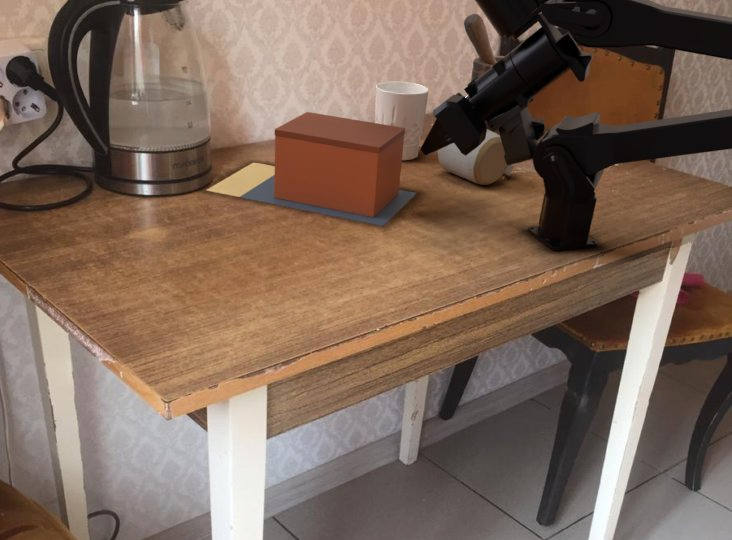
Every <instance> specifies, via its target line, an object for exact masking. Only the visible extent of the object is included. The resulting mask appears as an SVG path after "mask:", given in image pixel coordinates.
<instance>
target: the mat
mask: <svg viewBox="0 0 732 540" xmlns="http://www.w3.org/2000/svg"><path fill="white" fill-rule="evenodd" d="M274 176H275V165H270V164H264V163H259V162H252V163H250V164H249V165H247V166H245V167H243V168H241V169H240V170H238V171H236V172H234V173H233V174H231V175H230V176H228V177H226V178H224V179H223V180H221V181H219V182H218V183H216V184H214V185H212V186H210V187H209V188H207V189H205V191H207V192H211V193H215V194H221V195H226V196H231V197H237V198H241V199H246V200H250V201H256V202H259V203H266V204H271V205H276V206H280V207H281V206H282V207H286V208H290V209H296V210H301V211H306V212H310V213H316V214H321V215H325V216H331V217H335V218H341V219H346V220H351V221H355V222H360V223H366V224H370V225H376V226H380V227H384V226H385V225H386V224H387V223H389V222H390V220H392V218H393V217H395V216H396V215H397V213H398V212H399V211H401V210H402V209H403V208H404V207H406V205H407V204H408V203H409V202H410V201H411V200H412V199H413V198H414V197H415V196H416V195H417V194H418V192H415V191H410V190H409V191H408V190H403V189H399V194H398V195H397V196H396V197H395V198H394V199H393V200H392V201H391V202H390V203H389V204H388V205H386V206H385V207H384V208H383V209H382V210H381V211H380V212H379V213H378V214H377V215H376V216H375V217H369V216H364V215H359V214H354V213H349V212H344V211H339V210H334V209H329V208H324V207H318V206H313V205H308V204H303V203H298V202H293V201H288V200H283V199H278V198H274Z"/></svg>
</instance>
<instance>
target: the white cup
mask: <svg viewBox="0 0 732 540" xmlns="http://www.w3.org/2000/svg"><path fill="white" fill-rule="evenodd" d="M429 93H430V90H429V87H427V86H425V85H422V84H419V83H414V82H409V81H399V80H397V81H383V82H379V83H377V84H375V96H374V97H375V99H374V123H377V124H383V125H390V126H396V127H402V128H405V134H404V143H403V153H402V161H411V160H414V159H416V158H418V156H419V150H420V144H421V139H422V136H423V135H422V134H423V131H424V124H425V119H426V112H427V107H428V106H427V105H428V100H429Z"/></svg>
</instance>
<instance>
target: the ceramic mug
mask: <svg viewBox="0 0 732 540" xmlns="http://www.w3.org/2000/svg"><path fill="white" fill-rule="evenodd" d="M504 155H505V152H504V148H503V145H502V141H501V138H500V136H499V135H498V134H496V133H494V132H492V131H490V130H488V129H487V133H486V138H485V140H484V141H483V142H482V143H481V144H480V145H479V146H478V147H477V148H475V149H474V150H473V151H471V152H470V153H469V154H467V155H466V156H465V155H464V154H462V153H461V152H460V150H459V149H458V148H457V146H456V145H455V144H454V143H452V144H450V145H448V146H446V147H444V148H441V149H439V150H437V158H438V162H439V165H440V166H441V168H442V169H443V170H445V171H446V172H448V173H451V174H454V175H455V176H458V177H460V178H462V179H466V180H467V181H469V182H471V183H475V184H477V185H480V186H481V185H482V186H487V185H491V184H494V183H495V182H496V181H498V180H500V178H501V177H502V176H503V175H505V176H508V177H510V175H511V174H512V172H513V169H514V165H513V164H512V165H509V166H508V165H507V164H506V161H505V158H504Z"/></svg>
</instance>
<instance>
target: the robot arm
mask: <svg viewBox="0 0 732 540" xmlns="http://www.w3.org/2000/svg"><path fill="white" fill-rule="evenodd" d="M474 1H475V3H476V5H477V6H478V8H479V9H480V10H481V12H482V13H483V15H484V16H485V18H486V20H488V21H489V23H490V25H491V26H492V27H493V29H494V30H495V32H496V33H497V34H498V36H499V37H500V39H503V38H505V37H506V39H509V38H512V40H513V41H516V40H518V39H519V38H520V37H521V36H523V34H525V33H526V32H527V31H529V30H530V29H531V28H533V27H534V26H535V25H536V24H537V23H538V24H539V25H540V27H539V28H537V30H535V31H534V32H533V33H532V34H531V35H529V36H527V38H526V39H525V40H523V41H522V42H520V44H518V45H517V46H516V47H515V48H514V49H512V50H511V51H509V52H508V53H507V54H506V55H505V57H503V58H502V59H501V60H499V61H498V62H497V63H496V64H495V65H493V66H492V67H491V68H490V69H489V70H487V71H486V72H483V73H481V74H480V75H479V76H477V77H476V78H475V79H474V80H472V81H471V80H470V82H469V83H468V84H467V85H466V87H465V88H463V90H464V92H465V93H466V94H467V95H465V96H464V95H463V94H462V93H461V92H457V93H456V94H452V95H451V96H450V97H449V98H447V99H445V100H444V101H443V102H442V103H441V104H439V105H438V106H437V107H436V108H435V109H433V110H432V112H433V115H434V117H435V121H434V123H433V124H432V126H431V128H430V130H429V132H428V134H427V136H426V137H425V139H424V141H423V143H422V144H421V147H419V150H420V151H421V153H422V154H423V155H424V156H428V155H430V154H432V153H435V152H438V150H439V149H441V148H444V147H446V146H448V145H450V144H452V143H454V144H455V145H456V146H457V148H458V149H459V150H460V152H461V153H462V154H464V155H465V156H466V155H467V154H469V153H470V152H471V151H473V150H474V149H475V148H477V147H478V146H479V145H480V144H481V143H482V142H483V141H484V140H485V138H486V133H487V125H486V121H487V122H488V123H487V124H488V126H489V127H490V129H491V130H492V132H495V131H496V130H497V129H499V134H500V138H501V141H502V145H503V148H504V152H505V155H504V158H505V161H506V164H507V165H508V166H509V165H512V166H513V165H516V164H520V163H523V162H527V161H530V160H532V164H533V168H534V171H535V172H536V174H537V175H538V176H539V177H540V178H542V180H543V186H544V194H543V199H542V204H541V210H540V213H539V214H540V215H539V220H538V225H536V226H528V227H527V232H528V233H529V234H530V235H531V236H533V237H534V238H536V239H537V240H538V241H539V242H541V243H542V244H543V245H545V246H546V247H547V248H548V249H549V250H552V251H563V250H573V249H585V248H597V247H598V244H599V242H598V241H597V240H595V239H594V238H592V237H591V236H590V231H591V228H592V222H593V218H594V213H595V209H596V204H597V202H598V201H597V200H598V198H597V197H596V188H597V187H598V184H599V182H600V180H601V178H602V176H603V174H604V172H605V171H604V170H606V169H608V168H610V167H613V166H615V165H619V164H620V165H621V164H628V163H634V162H642V161H649V160H657V159H665V158H672V157H673V158H674V157H679V156H681V157H682V156H686V155H687V156H689V155H695V154H704V153H711V152H718V151H726V150H732V108H730V109H729V108H728V109H723V110H715V111H709V112H703V113H697V114H689V115H682V116H675V117H669V118H662V119H655V120H647V121H642V122H636V123H635V122H634V123H627V124H622V125H612V124H606V123H600V119H601V112H600V111H595V112H591V113H589V114H586V115H585V114H584V115H582V116H570V115H565V116H564V118H563V119H562V120H561V121H560V122H559V123H556V124H554V125H553V126H551V128H549V129H548V130H547V127H546V124H545V123H546V122H545V120H544V119H541V118H536V117H533V113H530V111H529V108H528V106H529V105H530V104H531V103H532V102H533V101H534V100H535V99H536V98H535V97H536V96H538V95H539V94H540V93H541V92H543V91H544V90H545V89H547V88H548V87H549V86H551V85H552V84H554V82H556V81H557V80H559V79H560V78H561V77H562V76H564V75H565V74H567V73H569V71H571V72H572V73H573V75H574V76H575V78H576V79H577V81H578V82H580V83H582V82H584V81H585V80H586V79H587V78H588V76H589V75H590V67H591V62H592V61H593V58H594V56H595V54H594V53H592V52H585V51H582V49H581V48H580V47H579V45H580V46H583V47H587V48H630V47H631V48H632V47H647V46H648V47H649V46H650V47H658V48H662V49H668V50H674V51H680V52H686V53H692V54H697V55H703V56H706V57H707V56H708V57H713V58H720V59H725V60H730V61H732V17H731V16H727V15H719V14H714V13H713V14H712V13H707V12H701V11H696V10H691V9H690V10H689V9H682V8H677V7H673V6H672V7H671V6H665V5H663V4H660V3H658V2H655V1H652V0H474ZM558 28H560V29H563V30H566V31H567V33H565V34H564V35H563V34H562V33H561V32H560V31H559V29H558ZM578 44H579V45H578ZM541 138H542V139H541ZM539 140H540V141H539Z"/></svg>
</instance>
